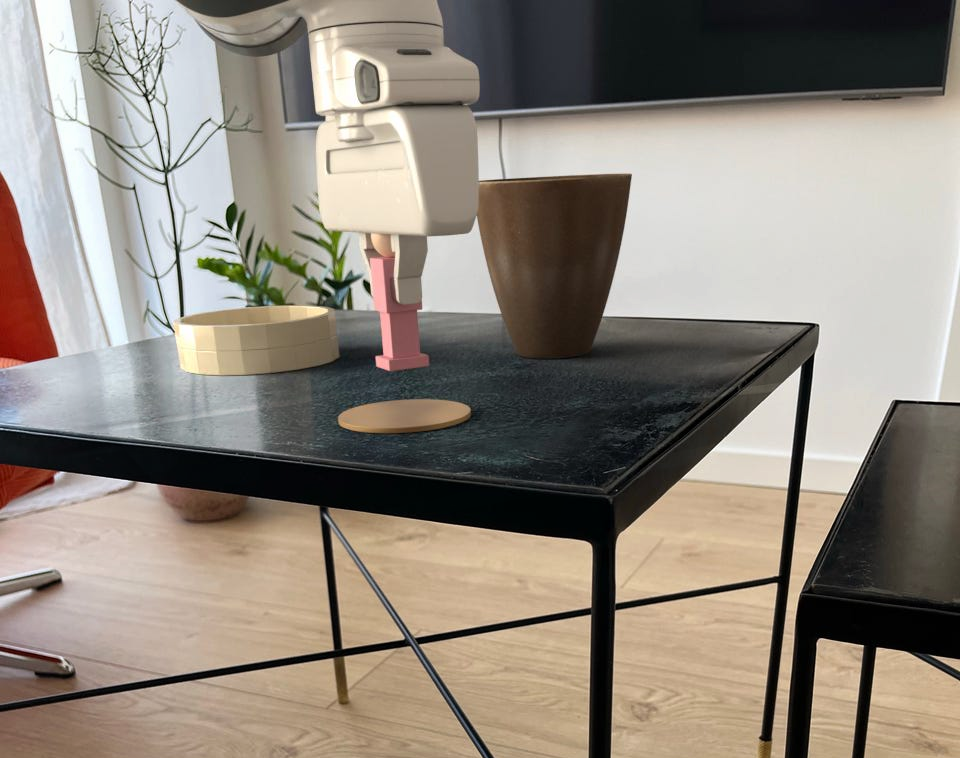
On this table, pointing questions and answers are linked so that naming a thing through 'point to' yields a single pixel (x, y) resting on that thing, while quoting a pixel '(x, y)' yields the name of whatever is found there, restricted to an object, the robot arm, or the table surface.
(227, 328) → the basin
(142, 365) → the table surface
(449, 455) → the table surface
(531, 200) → the flower pot
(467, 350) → the table surface
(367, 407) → the mat
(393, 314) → the doll
